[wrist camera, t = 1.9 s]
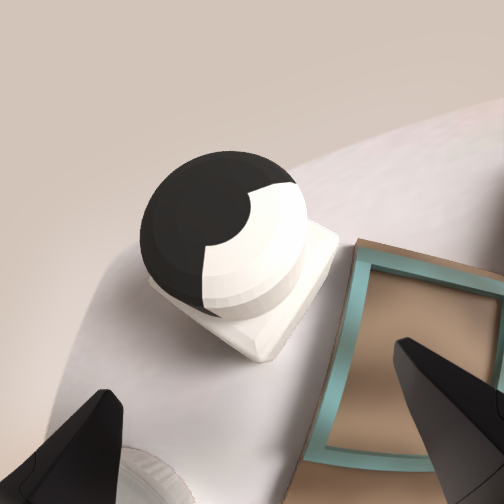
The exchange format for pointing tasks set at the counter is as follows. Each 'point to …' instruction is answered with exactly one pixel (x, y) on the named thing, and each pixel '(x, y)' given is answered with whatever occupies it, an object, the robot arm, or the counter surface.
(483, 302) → the socket board
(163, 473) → the ramekin
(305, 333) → the counter surface
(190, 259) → the medicine bottle
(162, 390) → the counter surface
